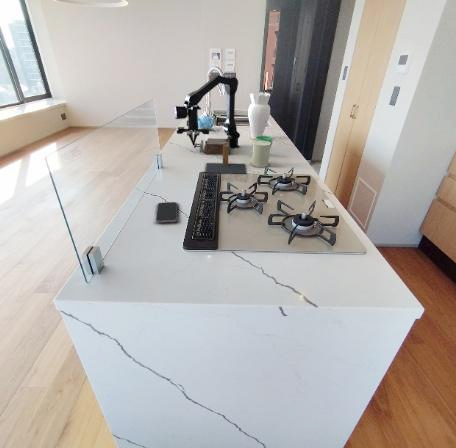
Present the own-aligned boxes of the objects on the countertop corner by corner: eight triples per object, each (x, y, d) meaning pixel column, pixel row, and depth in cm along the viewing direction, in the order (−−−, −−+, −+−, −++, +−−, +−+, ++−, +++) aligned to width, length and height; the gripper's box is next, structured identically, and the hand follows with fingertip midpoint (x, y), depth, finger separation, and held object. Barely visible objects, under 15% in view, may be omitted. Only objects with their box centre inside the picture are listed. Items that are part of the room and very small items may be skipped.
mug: (271, 158, 163) (273, 140, 158) (254, 157, 164) (256, 139, 159) (270, 150, 176) (272, 134, 170) (254, 149, 176) (255, 133, 171)
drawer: (193, 152, 167) (193, 144, 165) (195, 146, 177) (195, 139, 175) (221, 152, 167) (221, 145, 165) (221, 147, 177) (221, 140, 175)
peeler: (222, 165, 150) (222, 143, 144) (222, 163, 153) (222, 141, 147) (228, 165, 150) (229, 143, 144) (228, 163, 153) (229, 141, 147)
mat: (244, 164, 153) (244, 163, 153) (245, 174, 141) (245, 173, 141) (207, 163, 153) (207, 163, 153) (205, 173, 141) (205, 172, 141)
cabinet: (206, 154, 167) (206, 143, 164) (207, 148, 178) (207, 138, 175) (229, 154, 167) (230, 144, 164) (229, 148, 178) (229, 138, 175)
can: (270, 162, 156) (272, 140, 150) (266, 168, 149) (269, 145, 142) (253, 160, 159) (255, 138, 152) (249, 165, 151) (251, 143, 145)
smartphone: (176, 202, 112) (177, 219, 99) (177, 204, 112) (177, 222, 99) (158, 202, 111) (155, 221, 98) (158, 205, 111) (155, 223, 98)
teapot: (214, 131, 216) (215, 117, 210) (197, 132, 214) (197, 117, 208) (212, 127, 227) (212, 114, 221) (195, 128, 224) (195, 114, 219)
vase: (242, 138, 198) (245, 93, 183) (252, 134, 209) (255, 91, 194) (261, 142, 192) (266, 95, 177) (270, 137, 202) (275, 93, 187)
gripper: (209, 115, 169) (209, 141, 178) (178, 115, 170) (180, 141, 178) (208, 119, 160) (208, 147, 168) (175, 118, 160) (177, 146, 168)
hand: (193, 145), depth 171 cm, fingers closed
